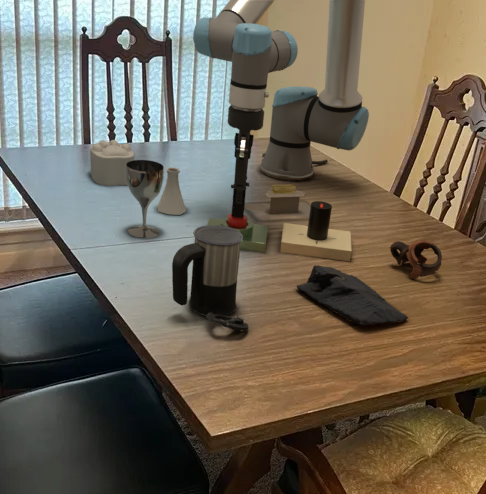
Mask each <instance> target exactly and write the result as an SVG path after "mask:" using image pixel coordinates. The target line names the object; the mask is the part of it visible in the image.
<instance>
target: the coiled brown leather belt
mask: <svg viewBox="0 0 486 494" xmlns="http://www.w3.org/2000/svg"><path fill="white" fill-rule="evenodd" d="M389 249H390V250H389V251H390V254H391V256H392V257H393V258H394V259H395V260H396V263H397V265H398V266H401V265H404V264H406V263H409V264H410V266H411V267H412V268H413V269H412V271H411V272H410V273H409V277H410V278H411V279H413V280H417V279H418V278H419V277H420V278H422V277H428V276H431V275H434V274H436V272H438V271H439V270H440V268H441V266H442V260H443V254H442V251H441V250H440V248H439V247H438V246H437V245H436V244H435V243H433V242H431V241H427V240H417V241H415V242H414V243H413V242H412V243H411V244H406V243H405V242H403V241H401V240H400V241H399V240H397V241H394V242H392V244H391V245H390V247H389ZM429 249H431V250H432V251H433V253H434V254H435V255H436V256H437V260H436V261H435V262H433V263H430V264H429V263H427V261H428V257H426V256H424V255H423V254H422V253H423V252H424V250H429Z"/></svg>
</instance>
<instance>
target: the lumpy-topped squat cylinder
mask: <svg viewBox="0 0 486 494" xmlns="http://www.w3.org/2000/svg"><path fill="white" fill-rule="evenodd" d="M89 155H90V177H91V179H92V181H94V182H95V183H96V184H97V185H99V186H103V187H112V186H128V183H127V174H126V164H127V163H128V162H130V161H134V160H135V153H134V151H133V149H132V147H131V145H130V144H128V143H123V144H121V143H119V141H118V140H116V139H112V140H110V141H106V140H105V139H101V140H100V141H99V142H96V143H93V144H92V145H91V146H90V147H89Z"/></svg>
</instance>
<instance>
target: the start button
mask: <svg viewBox="0 0 486 494" xmlns="http://www.w3.org/2000/svg"><path fill="white" fill-rule="evenodd" d="M231 215H232V213H229V214H228V215H227V217H228V223H227V224H228V225H230V226H233V227H245V226H247V220H248V216H247V215H246V214H244V217H243V218H242V217H233V216H231Z"/></svg>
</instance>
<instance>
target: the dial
mask: <svg viewBox="0 0 486 494" xmlns="http://www.w3.org/2000/svg"><path fill="white" fill-rule="evenodd" d="M332 210H333V205H332V204H331V203H329V202H327V201H320V200H319V201H318V200H316V201H312V202H311V203H310V215H309V218H308V223H307V226H308V229H307V237H309V238H311V239H313V240H325V239H327V236H328V229H330V222H331V216H332Z"/></svg>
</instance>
